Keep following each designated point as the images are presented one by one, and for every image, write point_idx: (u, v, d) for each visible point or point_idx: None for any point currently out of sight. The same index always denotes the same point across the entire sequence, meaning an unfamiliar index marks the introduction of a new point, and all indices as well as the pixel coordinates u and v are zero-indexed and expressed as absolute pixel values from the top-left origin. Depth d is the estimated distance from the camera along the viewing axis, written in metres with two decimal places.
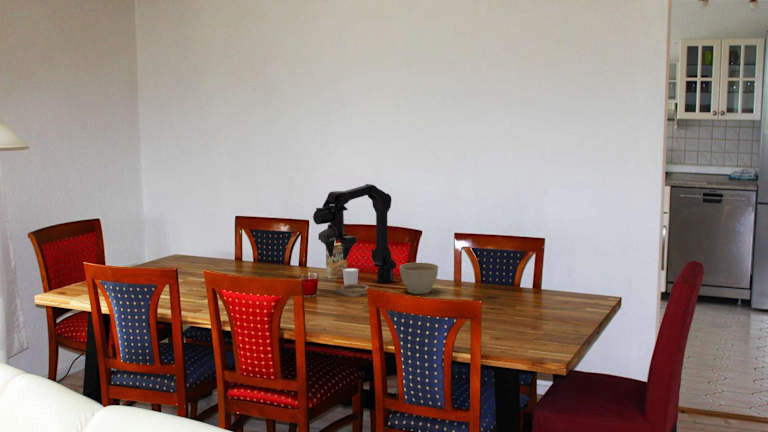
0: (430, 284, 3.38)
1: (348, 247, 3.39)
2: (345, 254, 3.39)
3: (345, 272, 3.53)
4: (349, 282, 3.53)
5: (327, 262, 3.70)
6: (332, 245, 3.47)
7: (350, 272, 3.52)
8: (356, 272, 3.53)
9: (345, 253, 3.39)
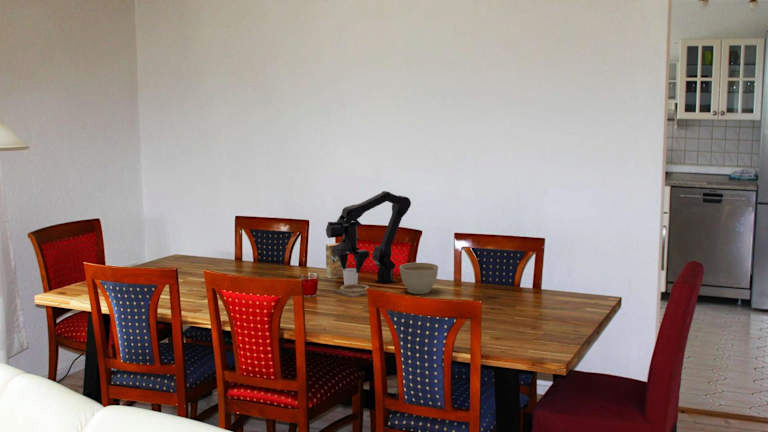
0: (430, 284, 3.38)
1: (361, 261, 3.51)
2: (358, 267, 3.51)
3: (345, 272, 3.53)
4: (349, 282, 3.53)
5: (327, 262, 3.70)
6: (345, 258, 3.59)
7: (350, 272, 3.52)
8: (356, 272, 3.53)
9: (358, 266, 3.50)
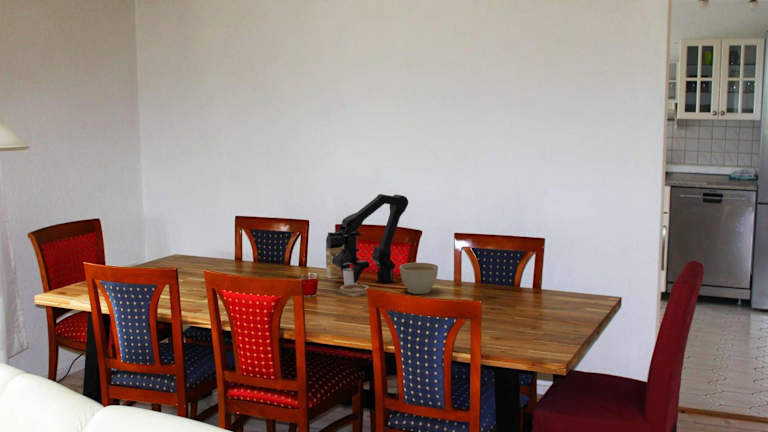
0: (430, 284, 3.38)
1: (359, 271, 3.52)
2: (356, 277, 3.52)
3: (345, 272, 3.53)
4: (349, 281, 3.53)
5: (327, 262, 3.70)
6: None
7: (350, 272, 3.52)
8: None
9: (356, 276, 3.52)
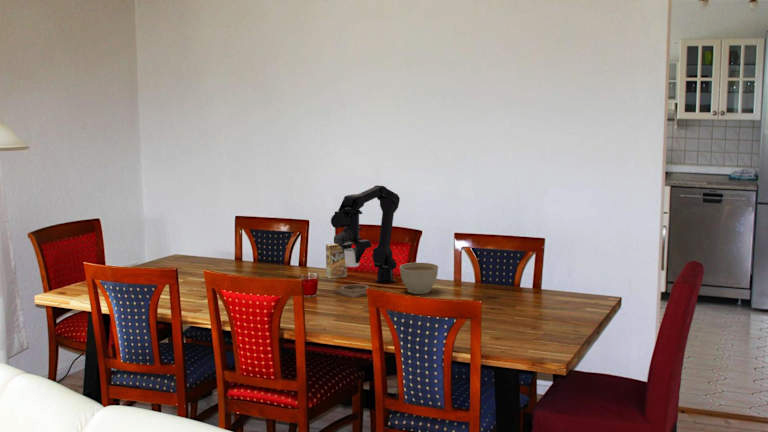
0: (430, 284, 3.38)
1: (361, 250, 3.41)
2: (358, 257, 3.41)
3: (346, 252, 3.41)
4: (350, 262, 3.41)
5: (327, 262, 3.70)
6: None
7: (352, 252, 3.40)
8: None
9: (358, 256, 3.40)
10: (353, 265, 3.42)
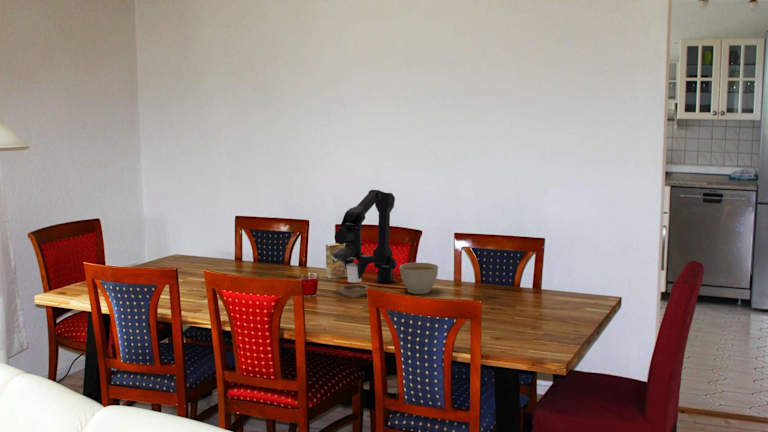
0: (430, 284, 3.38)
1: (363, 266, 3.38)
2: (360, 273, 3.38)
3: (349, 267, 3.38)
4: (353, 277, 3.38)
5: (327, 262, 3.70)
6: None
7: (354, 268, 3.37)
8: None
9: (360, 272, 3.37)
10: (356, 281, 3.39)
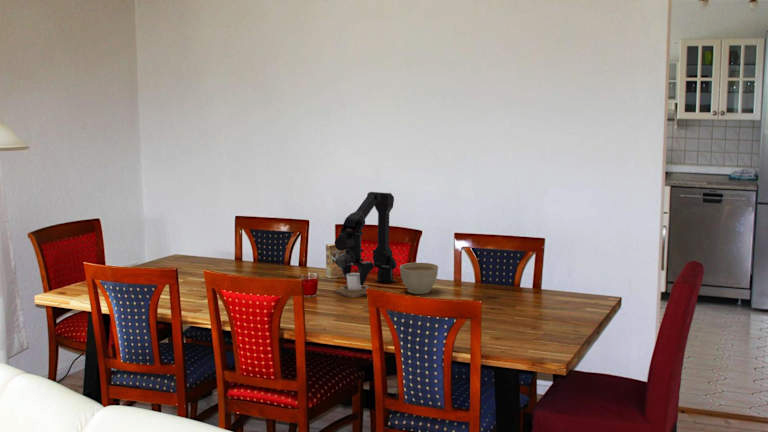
0: (430, 284, 3.38)
1: (365, 272, 3.37)
2: (362, 279, 3.37)
3: (349, 277, 3.39)
4: (353, 287, 3.39)
5: (327, 262, 3.70)
6: (349, 270, 3.45)
7: (354, 277, 3.38)
8: None
9: (362, 278, 3.37)
10: None
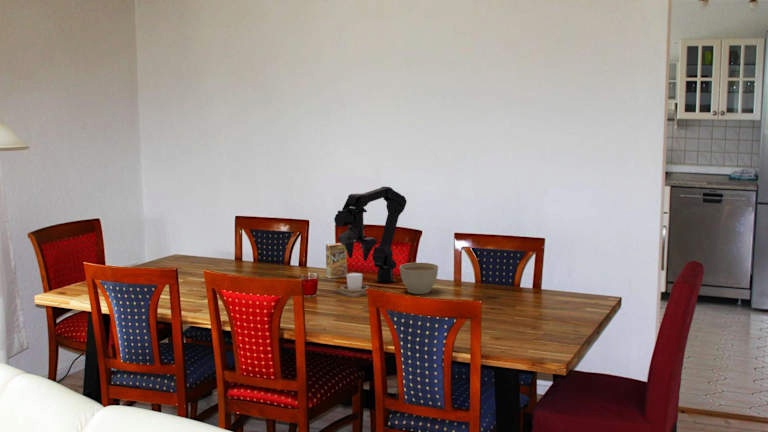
0: (430, 284, 3.38)
1: (368, 248, 3.45)
2: (365, 255, 3.45)
3: (349, 277, 3.39)
4: (353, 287, 3.39)
5: (327, 262, 3.70)
6: (352, 246, 3.53)
7: (354, 277, 3.38)
8: (360, 277, 3.39)
9: (365, 254, 3.45)
10: None
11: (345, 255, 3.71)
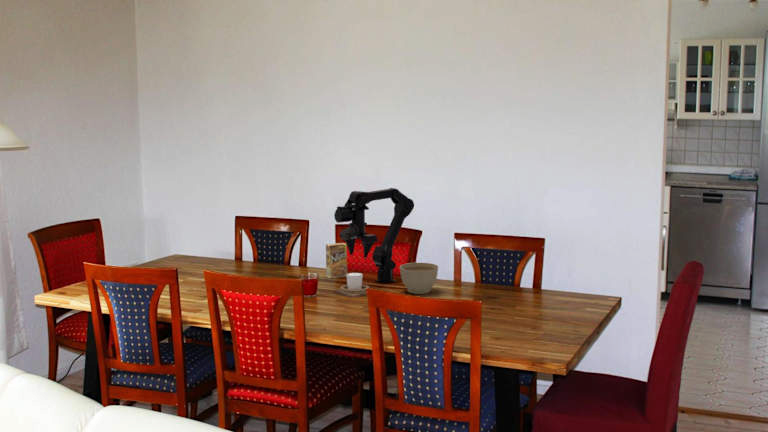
0: (430, 284, 3.38)
1: (369, 245, 3.49)
2: (366, 252, 3.49)
3: (349, 277, 3.39)
4: (353, 287, 3.39)
5: (327, 262, 3.70)
6: (353, 243, 3.57)
7: (354, 277, 3.38)
8: (360, 277, 3.39)
9: (366, 251, 3.49)
10: None
11: (345, 255, 3.71)
